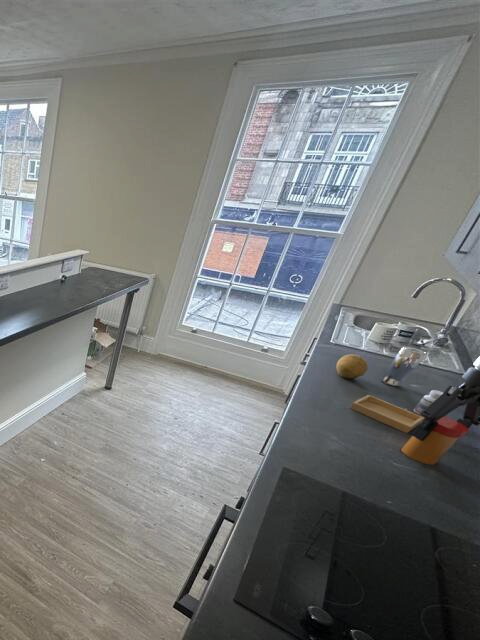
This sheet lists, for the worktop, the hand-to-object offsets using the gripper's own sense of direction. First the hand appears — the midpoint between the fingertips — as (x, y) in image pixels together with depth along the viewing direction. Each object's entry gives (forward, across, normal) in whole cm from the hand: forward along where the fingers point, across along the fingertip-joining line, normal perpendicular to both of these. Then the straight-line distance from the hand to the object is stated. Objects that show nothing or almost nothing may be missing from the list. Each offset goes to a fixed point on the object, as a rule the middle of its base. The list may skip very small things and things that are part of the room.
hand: (433, 438), depth 115 cm
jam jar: (+7, 0, 0) cm, 7 cm away
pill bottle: (+7, -29, -24) cm, 38 cm away
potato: (+7, -23, -51) cm, 56 cm away
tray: (+7, -11, -22) cm, 25 cm away
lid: (-5, 0, 0) cm, 5 cm away
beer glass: (+7, -40, -47) cm, 62 cm away
